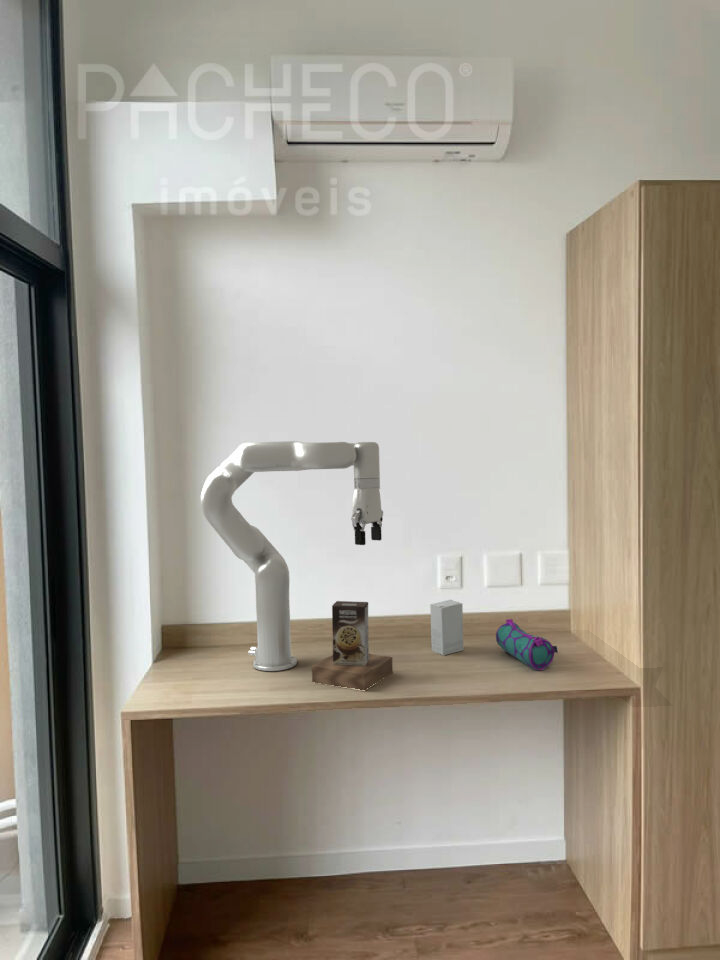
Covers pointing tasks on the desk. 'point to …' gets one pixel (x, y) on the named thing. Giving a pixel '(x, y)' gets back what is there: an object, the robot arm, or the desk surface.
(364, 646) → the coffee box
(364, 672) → the walnut block
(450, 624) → the skincare box
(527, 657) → the pencil case
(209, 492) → the robot arm
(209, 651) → the desk surface
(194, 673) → the desk surface
